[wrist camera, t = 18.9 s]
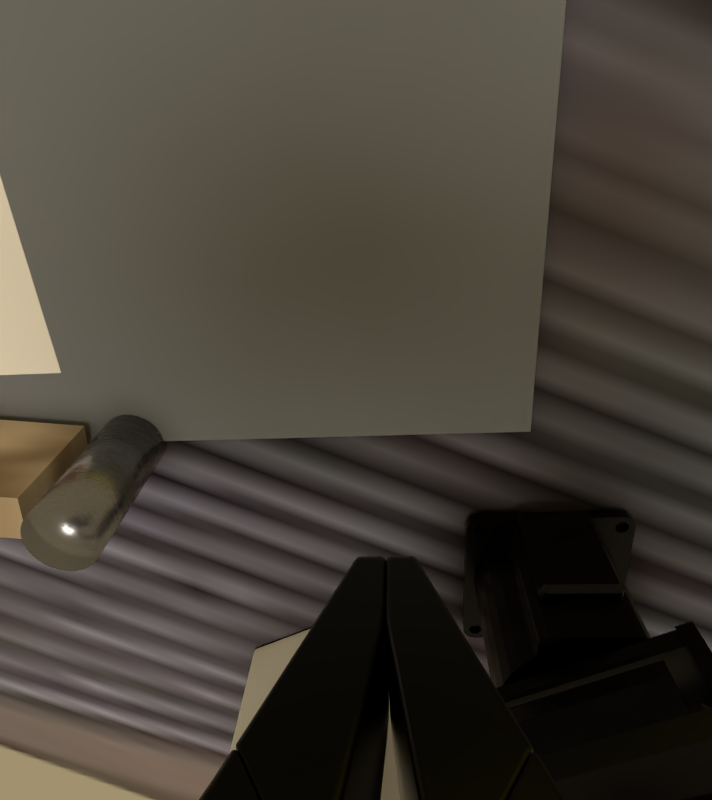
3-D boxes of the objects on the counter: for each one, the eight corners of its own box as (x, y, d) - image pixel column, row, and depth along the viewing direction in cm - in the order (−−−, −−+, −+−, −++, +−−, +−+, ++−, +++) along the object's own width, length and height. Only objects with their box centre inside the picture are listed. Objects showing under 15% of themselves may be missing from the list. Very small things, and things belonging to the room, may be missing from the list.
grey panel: (528, 427, 22) (530, 431, 22) (-222, 447, 24) (-230, 451, 24) (574, -129, 15) (577, -133, 15) (-499, -31, 17) (-514, -33, 17)
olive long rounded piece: (172, 463, 24) (109, 570, 18) (113, 464, 24) (34, 571, 19) (2, -263, 14) (-227, -474, 9) (-92, -252, 15) (-372, -453, 9)
